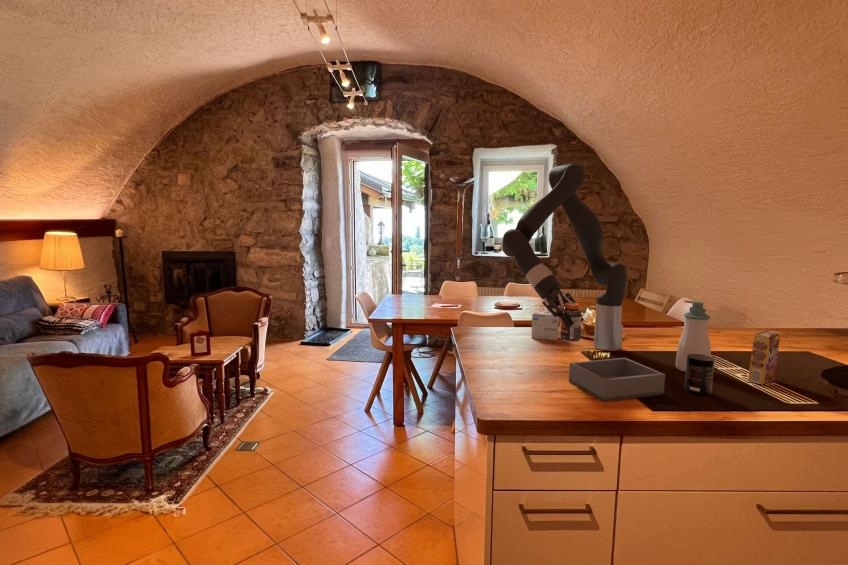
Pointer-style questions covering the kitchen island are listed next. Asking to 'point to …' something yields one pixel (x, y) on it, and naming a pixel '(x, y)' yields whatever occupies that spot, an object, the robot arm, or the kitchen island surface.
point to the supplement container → (699, 374)
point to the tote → (616, 379)
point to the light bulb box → (544, 325)
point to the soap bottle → (693, 335)
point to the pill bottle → (575, 330)
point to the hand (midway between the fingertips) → (576, 323)
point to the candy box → (764, 357)
